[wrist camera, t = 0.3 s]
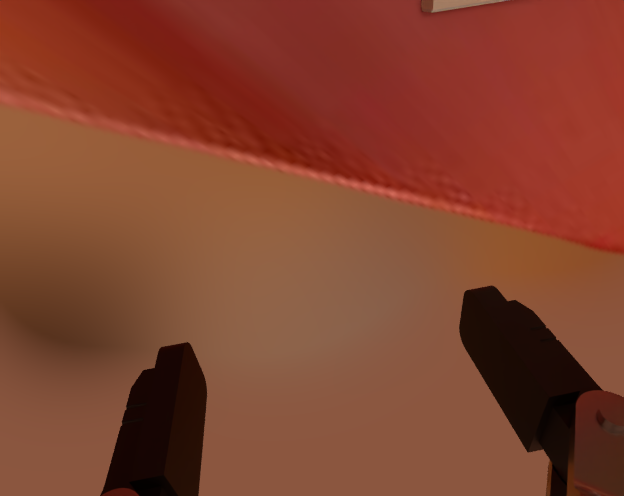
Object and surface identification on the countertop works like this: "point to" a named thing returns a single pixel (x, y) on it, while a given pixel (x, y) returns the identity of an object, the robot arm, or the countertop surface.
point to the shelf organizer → (451, 4)
